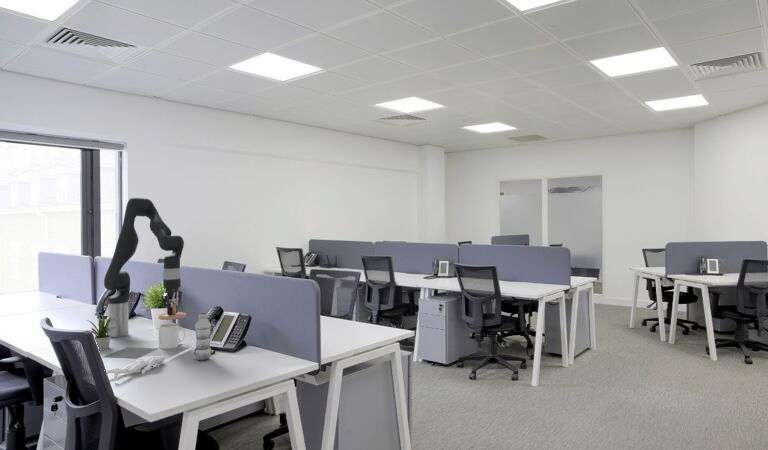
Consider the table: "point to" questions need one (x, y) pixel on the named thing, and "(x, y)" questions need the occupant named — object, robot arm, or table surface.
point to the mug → (169, 335)
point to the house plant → (102, 333)
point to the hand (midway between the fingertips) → (172, 314)
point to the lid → (173, 316)
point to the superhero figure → (137, 366)
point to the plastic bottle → (203, 337)
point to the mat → (131, 352)
